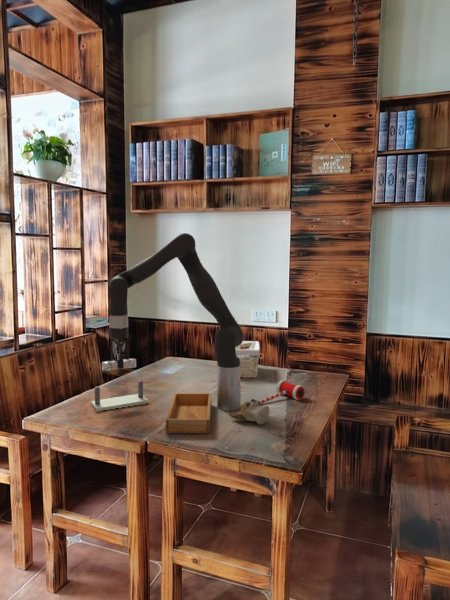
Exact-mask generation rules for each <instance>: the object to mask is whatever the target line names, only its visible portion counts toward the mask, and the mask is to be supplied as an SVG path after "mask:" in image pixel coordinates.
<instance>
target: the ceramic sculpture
mask: <svg viewBox="0 0 450 600" xmlns="http://www.w3.org/2000/svg"><path fill="white" fill-rule="evenodd" d="M258 401H259V400H256V399H255V398H251V400H249V401H246V402H243V404H241V408H240V410H239V411H236V412H234V413H228V416H230V417H231V418H233V419H236V421H237V420H238V421H242V420H244V421H246V422H255V423H257V425H259V426H260V425H264V424H266V422H267V421H268V420H269V415H270V406H268V405H266V406H265V405H264V406H262V405H259V403H258Z"/></svg>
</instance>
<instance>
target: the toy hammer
mask: <svg viewBox="0 0 450 600" xmlns="http://www.w3.org/2000/svg"><path fill="white" fill-rule="evenodd" d="M276 391H277V393H276V394H273V395H271V396H269V397H266V398H264V399H262V400H257V401H258V403H259V405H260V406H262V404H264V403H267V402H269V401H271V400H274V399H276V398H280V397H281V396H283V395H286V396H288V397H291V398H293V399H294V400H296V401H300V400H303V399H304V397H305V395H306V388H305V387H304V386H303V385H300V384H294V383H291V382H288V381H287V380H285V379H281V380H278V382H277V384H276Z"/></svg>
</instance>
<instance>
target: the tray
mask: <svg viewBox="0 0 450 600" xmlns="http://www.w3.org/2000/svg"><path fill="white" fill-rule="evenodd" d="M172 397H173V398H172V400H171V404H170V406H169V409H168V412H167V414H166V419H165V433H166V434H210V429H211V427H210V425H211V411H212V393H211V392H210V393H209V392H200V393H199V392H197V393H195V392H192V393H191V392H188V393H187V392H186V393H185V392H183V393H182V392H181V393H179V392H174V394H173V396H172Z"/></svg>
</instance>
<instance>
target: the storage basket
mask: <svg viewBox="0 0 450 600" xmlns="http://www.w3.org/2000/svg"><path fill="white" fill-rule="evenodd" d="M241 347H243V348H244V347H245V348H244V349H242V348H241ZM246 347H247V348H246ZM235 348H236V357H238V358H239V359H240V378H246V379H247V378H249V379H250V378H257V376H258V373H259V372H258V371H259V358H260V353H261V351H260V350H261V346H260V342H259V340H243V342H242V343H241V344H240V345H239V346H237V347H235Z"/></svg>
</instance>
